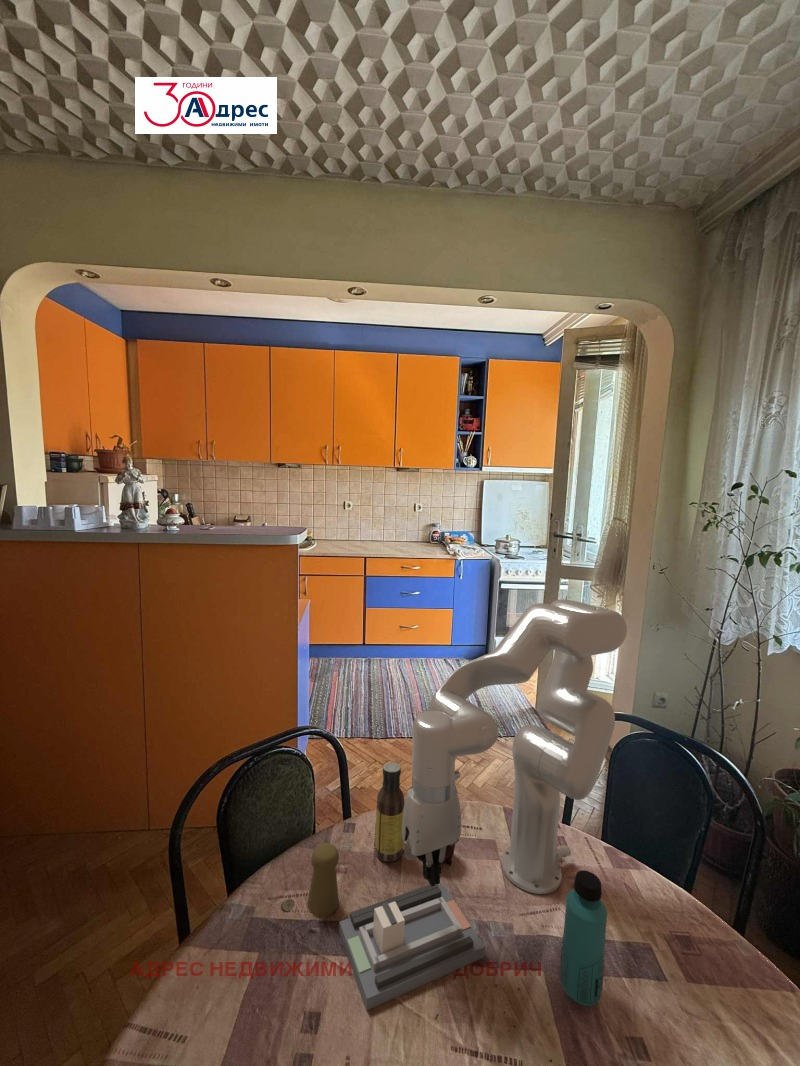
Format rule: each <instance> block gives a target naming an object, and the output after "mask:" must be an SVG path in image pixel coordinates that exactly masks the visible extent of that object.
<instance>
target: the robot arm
mask: <svg viewBox="0 0 800 1066" xmlns="http://www.w3.org/2000/svg"><path fill="white" fill-rule="evenodd" d="M627 632H628V626H627V622H626V620H625V618H624V617H623V615H622V614H620V612H618V611H615V610H612V609H609V608H605V607H600V606H597V605H593V604H588V603H586V602H585V603H584V602H581V601H576V600H572V599H557V600H554V601H551V603H550V604H549V603H541V602H540V603H539V602H538V603H534V604H531V605H530V606H528V607H527V608H526V609H525V610H524V611H523V613H522V614H521V615H520V617H519V618H518V619H517V620H516V621H515V623H514V624H513V625H512V627H511V628H510V629H509V631H507V633H506V634H505V635H504V637H503V638H502V639H501V641H499V643H498V645H497V646H496V648H494V649H493V650H492V651H491V652H489V653H486V654H484V655H481V656H479V657H477V658H474V659H473V660H470V661H469V662H466V663H464V664H462V665H460V666H459V667H457V668H456V669H455V670H453V671H452V672H451V673H450V674H449V675H448V676H447V678H446V679H445V680H444V681H443V682H442V683H441V685H440V686H439V687H438V689H437V690H436V691H435V693H434V695H432V698H431V699H430V701H429V703H428V708H427V711H423V712H421V713H420V714H418V715H416V717H415V718H414V719H413V723H412V744H411V747H412V751H411V753H412V756H411V758H412V759H411V760H412V761H411V762H412V763H411V765H412V766H411V770H412V771H411V788H409V789H407V792H406V795H405V796H406V797H405V799H404V812H403V821H402V839H403V843H404V842H406V844H405V848H404V851H403V854H404V857H405V858H406V860H407V861H412V860H415V861H416V860H417V859H418V860H419V861H420V862H422V876H423V878H424V879H425V880H427V882H428V884H429V885H431V886H432V887H433V886H435V884H437V885H440V884H441V874H442V863H441V862H443V861H444V859H445V853H446V852H447V851H448V849H449V848H450V846H452V845H453V844H455V845H456V844H457V843H458V842H459V841H460V839H461V838H460V837H461V835H462V834H461V833H462V812H461V805H460V798H459V792H458V789H457V787H456V780H457V779H460V778H461V773H460V770H458V769H456V758H458V757H463V756H472V755H478V754H481V753H484V752H486V751H488V750H489V749H491V748H492V747H493V746H494V745H495V743H496V742H497V740H498V738H499V737H498V736H499V734H500V733H499V729H500V728H499V725H498V723H497V721H496V719H495V718H494V716H492V715H491V714H490V713H488V712H487V711H485V710H484V709H482V708H480V707H478V706H477V705H475V704H474V703H472V702H471V701H469V700H467V699H468V698H469V697H470V696H471V695H472V694H474V693H475V692H477V691H478V690H481V689H484V688H486V687H490V686H497V685H499V686H500V685H501V686H502V685H517V684H519V685H520V684H524V683H526V682H528V681H530V679H531V678H532V676H533V675H534V674H535V673H536V671H537V669H538V668H539V667H540V665H541V664H542V662H543V661H544V659H545V658H546V657H547V656H548V654H549V653H550V652H551V651H552V650H553V651H554V652H553V653H554V654H553V658H552V662H551V664H550V667H549V670H548V672H547V675H546V678H545V680H544V682H543V685H542V688H541V691H540V693H539V697H538V699H537V703H536V712H537V714H538V715H539V716H540V718H541V719H543V720H544V721H545V722H547V723H548V724H550V725H552V726H554V727H555V728H557V729H559V730H561V731H563V732H565V733H567V734H569V735H572V736H573V737H574V742H571V741H570V740H568V739H565V738H563V737H562V736H561V735H558V734H557V733H555V732H552V731H551V730H549V729H547V728H545V727H542V726H539V725H536V724H527V725H524V726H522V727H520V729H518V731H517V732H516V734H515V736H514V737H513V740H512V761H513V766H514V767H513V768H514V787H513V788H514V791H513V803H512V815H511V827H510V829H511V830H510V842H509V847H507V848H506V849H505V850H504V851H503V853H502V855H501V867H502V871H503V873H504V875H505V876H506V878H507V879H509V881H510V882H511V883H512V884H514V885H515V886H517V888H519V889H521V890H523V891H526V892H528V893H532V894H536V895H546V894H550V893H553V892H554V891H556V890H558V888H559V887H560V886H561V884H562V868H561V867H560V864H559V862H560V861H561V860H562V858H566V857H569V856H571V855H572V849H571V848H570V847H569V846H568V845H563V846H561V847H559V844H558V831H559V830H558V829H559V820H560V819H559V818H560V809H561V795H560V793H561V794H563V795H565V796H566V797H567V798H569V799H572V800H575V801H581V800H584V799H586V798H587V797H588V796H589V795H590V794H591V792H592V791H593V788H594V787H595V785H596V782H597V780H598V777H599V774H600V772H601V768H602V766H603V763H604V761H605V758H606V754H607V752H608V748H609V747H610V743H611V740H612V738H613V737H612V736H613V733H614V730H615V724H616V716H615V712H614V708H613V706H612V704H610V702H609V701H608V700H606V699H605V698H603V697H602V696H599V695H597V694H594V693H592V692H590V691H588V688H589V685H590V681H591V678H592V675H593V672H594V663H593V661H594V660H593V658H592V656H596V655H601V654H608V653H610V652H614V651H615V650H617V649H619V648H620V647H621V646H622V645H623V643H624V642H625V640H626V636H627V634H628V633H627ZM558 847H559V848H558Z"/></svg>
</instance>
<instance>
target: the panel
mask: <svg viewBox="0 0 800 1066" xmlns="http://www.w3.org/2000/svg"><path fill="white" fill-rule="evenodd" d="M394 901H395V902H396V904H397V906H398V908H399V910H400V912H401V914H402V916H403V918H404V920H405V924H404V941H403V946H401V947H399V948H397V949H394V950H392V951H389V952H387V953H384V954H382V955H381V953H380V951H379V949H378V946H377V944H376V941H375V939H374V937H373V924H374V909H375V908H378V907H380V906H382V904H384V903H387V902H388V904H389V903H392V902H394ZM349 913H350V914H349V918H345V919H343V920H341V921H339V923H338V924H339V925H338V926H339V927H338V934H339V935H340V936H339V937H340V939H341V942H342V945H343V948H344V951H345V954H346V956H347V959H348V962H349V965H350V968H351V971H352V973H353V977H354V979H355V981H356V984H357V988H358V990H359V993H360V996H361V999H362V1002H363V1006H364V1007H365V1010H366V1011H369V1010H371V1009H373V1008H376V1007H378V1006H380V1005H382V1004H384V1003H387V1002H389V1001H391V1000H393V999H396V998H398V997H400V996H402V995H405V994H407V993H409V992H411V991H413V990H415V989H418V988H419V987H422V986H425V985H426V984H428V983H430V982H433V981H434V980H438V979H439V978H442V977H443V976H445V975H449V974H450V973H453V972H455V971H457V970H459V969H461V968H464V967H466V966H467V965H469V964H473V963H474V962H477V961H479V960H481V959H483V958H484V957H485V947H486V946H485V945H484V943H483V942H482V940H481V939H480V937H479V936H478V934H477V933H476V931H475V930H474V928H473V927H472V925H471V924H470V922H469V921H468V919H467V917H466V916H465V914H464V913H463V911H462V910H461V908H460V906H458V904H457V902H456V900H455V899H454V897H453V896H452V894H451V893H450V892H449V890H448V888H447V887H446V885H445V884H443V883H442V885H439V884H435V886H433V887H432V886H431V885H430V884H427V885H425V886H422V887H418V888H416V889H413V890H410V891H408V892H404V893H401V894H399V895H396V896H393V897H391V898H388V899H385V900H384V899H383V900H382V901H379V902H377V903H374V904H373V903H372V904H369V905H368V906H365V907H362V908H359V909H355V910H353V911H351V912H349Z"/></svg>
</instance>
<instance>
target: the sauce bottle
mask: <svg viewBox="0 0 800 1066" xmlns="http://www.w3.org/2000/svg"><path fill="white" fill-rule="evenodd" d="M401 770H402V767H401V765H400V763H397V762H391V761H390V762H386V763H385V764H384V765H383V766H382V775H383V776H382V777H383V778H382V787H381V789H380V790H379V792H378V793H377V796H376V797H377V798H376V815H375V854H376V856H377V857H378V859H379V860H380V861H382V862H389V863H391V862H394V861H397V860H398V859H400V858H401V856H402V854H403V847H404V841H403V839H402V821H403V812H404V805H405V796H404V792H403V791H402V789H401V787H400V785H401V783H400V781H401V778H400V777H401V772H402V771H401Z"/></svg>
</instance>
